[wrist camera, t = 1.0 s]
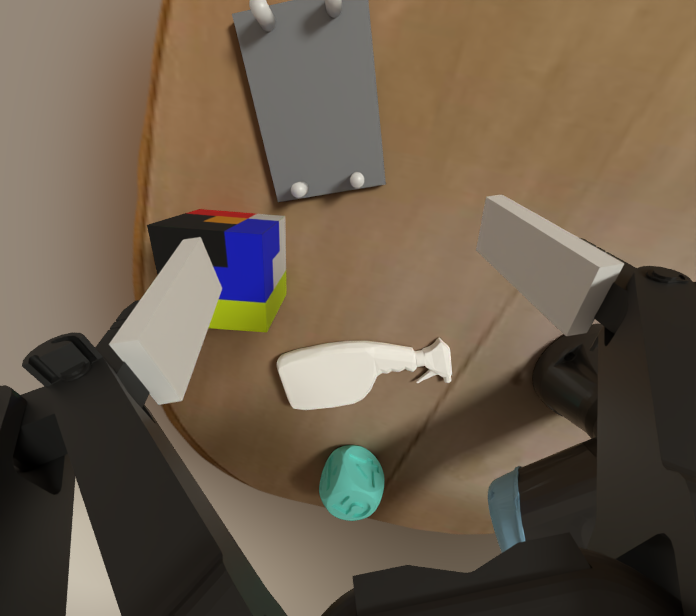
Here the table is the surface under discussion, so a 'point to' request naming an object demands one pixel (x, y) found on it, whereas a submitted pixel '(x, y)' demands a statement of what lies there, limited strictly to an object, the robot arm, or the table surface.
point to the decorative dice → (351, 483)
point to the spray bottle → (352, 370)
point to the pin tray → (314, 94)
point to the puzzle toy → (233, 261)
